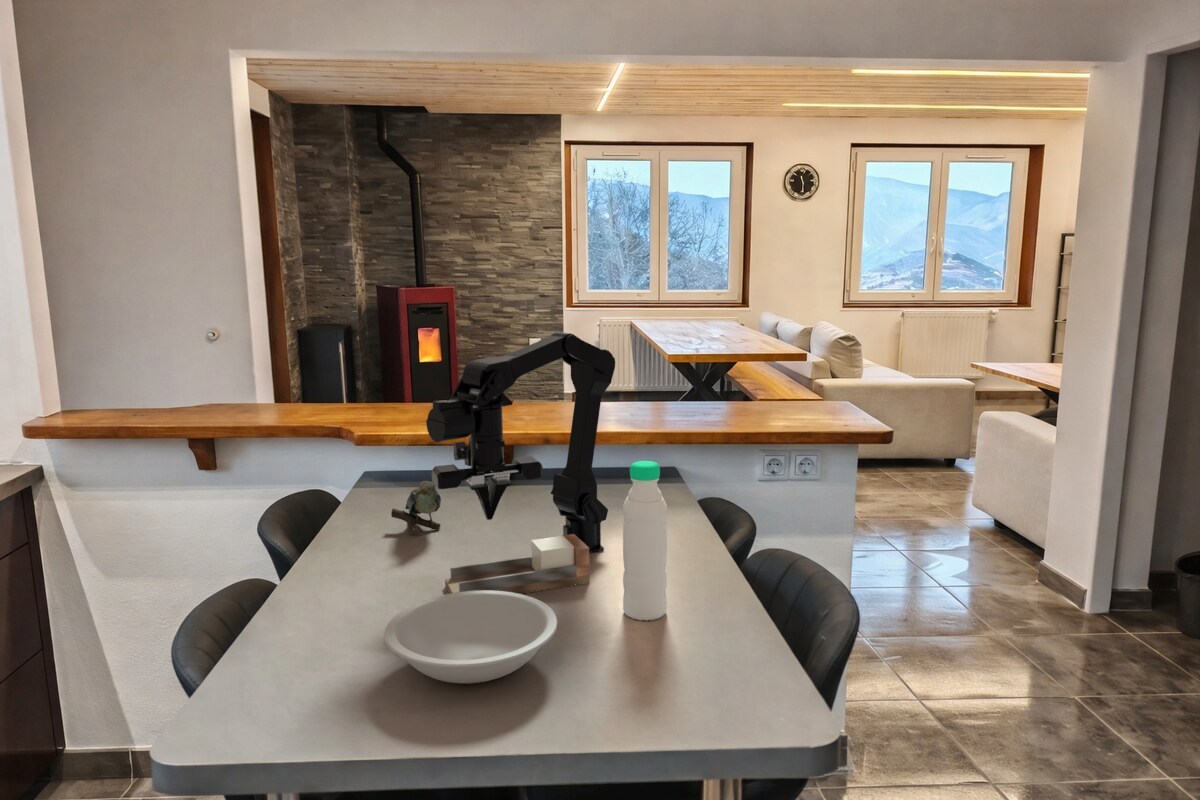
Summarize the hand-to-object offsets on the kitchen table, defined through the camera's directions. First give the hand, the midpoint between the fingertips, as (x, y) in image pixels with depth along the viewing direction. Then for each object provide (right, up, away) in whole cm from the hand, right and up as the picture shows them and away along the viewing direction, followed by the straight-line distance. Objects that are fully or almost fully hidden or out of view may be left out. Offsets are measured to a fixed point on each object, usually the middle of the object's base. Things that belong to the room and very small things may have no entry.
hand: (489, 519), depth 152 cm
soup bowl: (+2, -17, -30) cm, 35 cm away
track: (+5, -11, -1) cm, 13 cm away
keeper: (+11, -9, +1) cm, 15 cm away
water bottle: (+27, -14, -13) cm, 33 cm away
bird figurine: (-19, -7, +28) cm, 34 cm away
